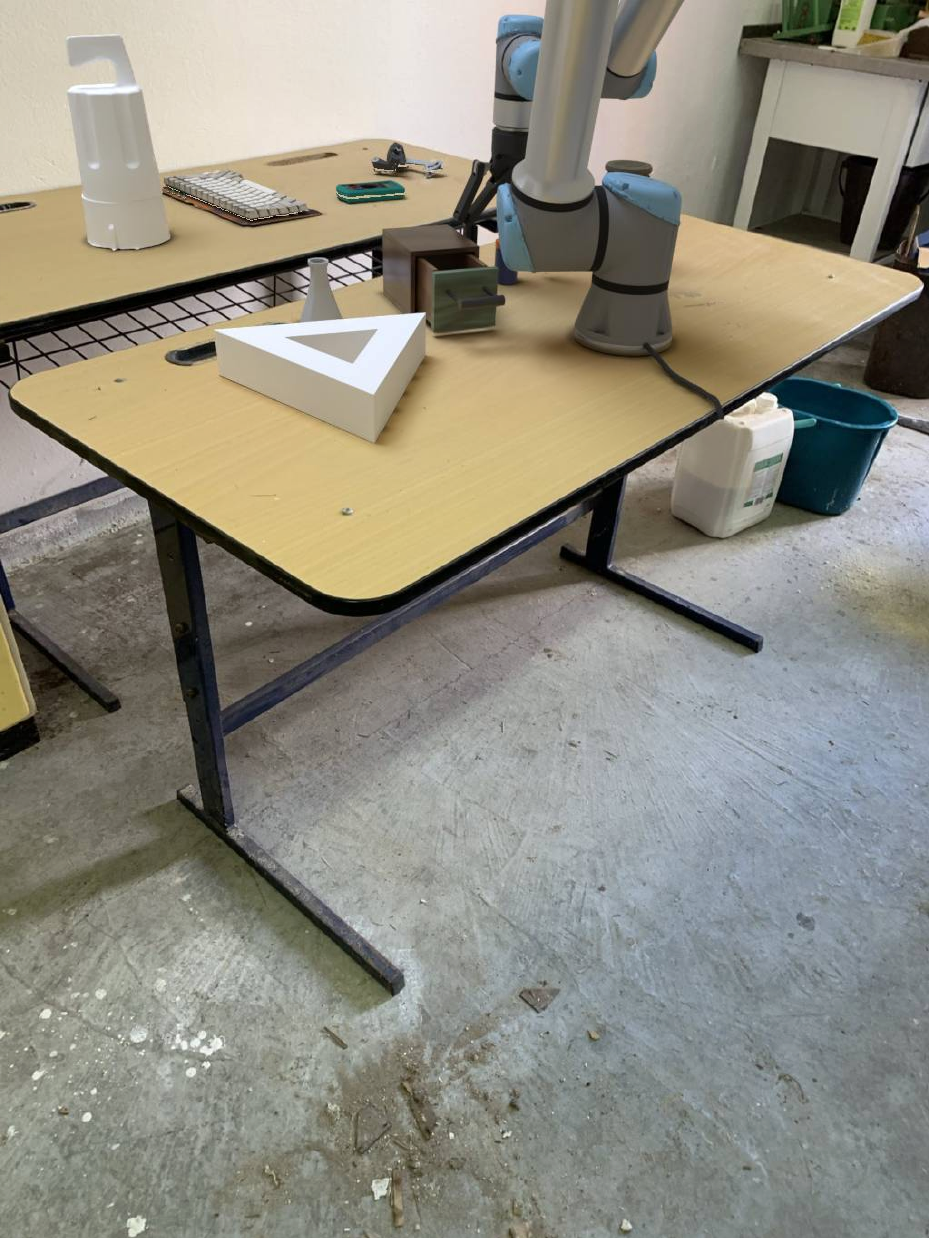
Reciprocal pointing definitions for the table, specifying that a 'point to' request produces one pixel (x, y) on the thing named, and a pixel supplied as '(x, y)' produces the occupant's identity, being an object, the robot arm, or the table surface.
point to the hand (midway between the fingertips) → (506, 260)
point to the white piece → (115, 151)
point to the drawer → (456, 291)
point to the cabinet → (402, 252)
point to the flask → (319, 294)
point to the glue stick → (504, 268)
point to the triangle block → (329, 366)
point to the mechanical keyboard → (235, 197)
